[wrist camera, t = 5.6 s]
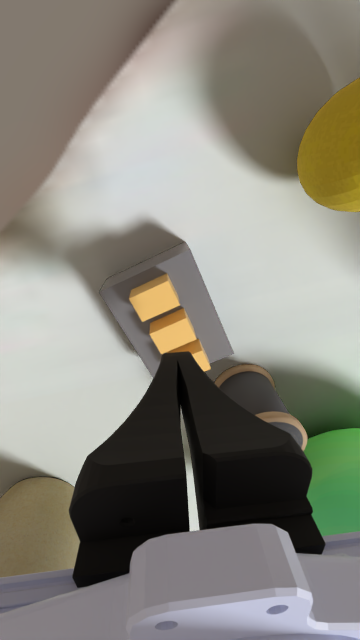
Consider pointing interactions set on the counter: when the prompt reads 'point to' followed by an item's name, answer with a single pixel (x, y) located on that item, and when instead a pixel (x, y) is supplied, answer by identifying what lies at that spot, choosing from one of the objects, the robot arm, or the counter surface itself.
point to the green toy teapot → (335, 480)
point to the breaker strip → (187, 298)
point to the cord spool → (260, 398)
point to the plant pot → (37, 527)
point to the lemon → (333, 152)
